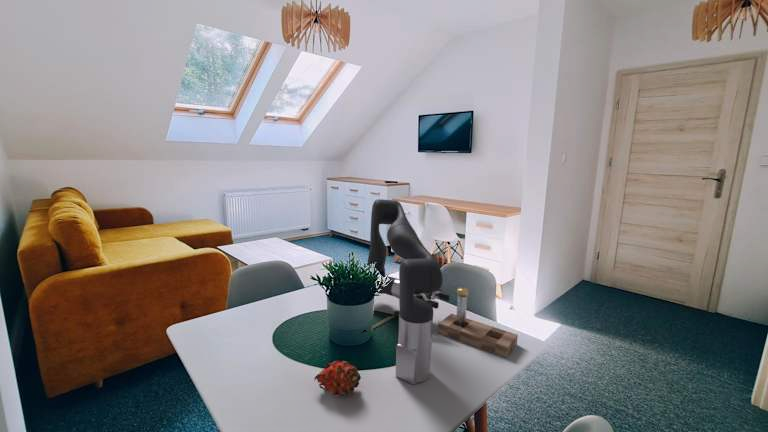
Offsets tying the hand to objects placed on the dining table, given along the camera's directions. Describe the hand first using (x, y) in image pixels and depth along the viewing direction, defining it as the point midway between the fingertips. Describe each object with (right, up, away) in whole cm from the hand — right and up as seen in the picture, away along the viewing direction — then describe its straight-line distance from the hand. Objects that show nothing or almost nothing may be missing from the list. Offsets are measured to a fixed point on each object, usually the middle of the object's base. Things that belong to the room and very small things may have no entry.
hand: (443, 301), depth 125 cm
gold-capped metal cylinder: (+5, -10, -2) cm, 12 cm away
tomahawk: (-21, -9, +3) cm, 23 cm away
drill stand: (+10, -11, -6) cm, 16 cm away
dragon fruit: (-33, -15, -34) cm, 50 cm away
